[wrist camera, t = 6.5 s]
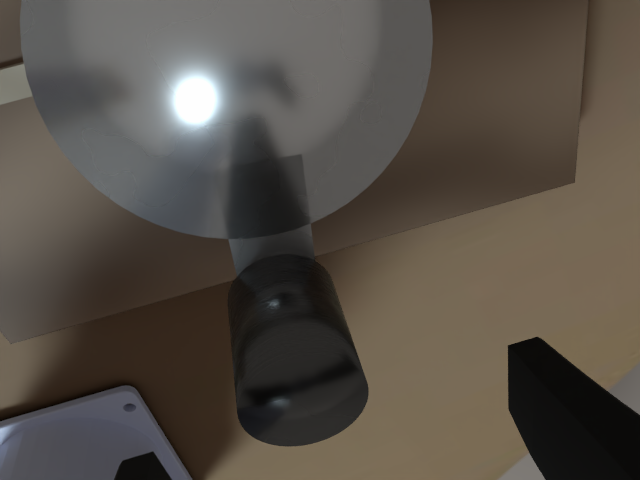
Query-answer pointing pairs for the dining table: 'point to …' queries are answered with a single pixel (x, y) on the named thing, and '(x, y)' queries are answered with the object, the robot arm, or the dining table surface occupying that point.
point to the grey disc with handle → (242, 156)
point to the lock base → (328, 232)
